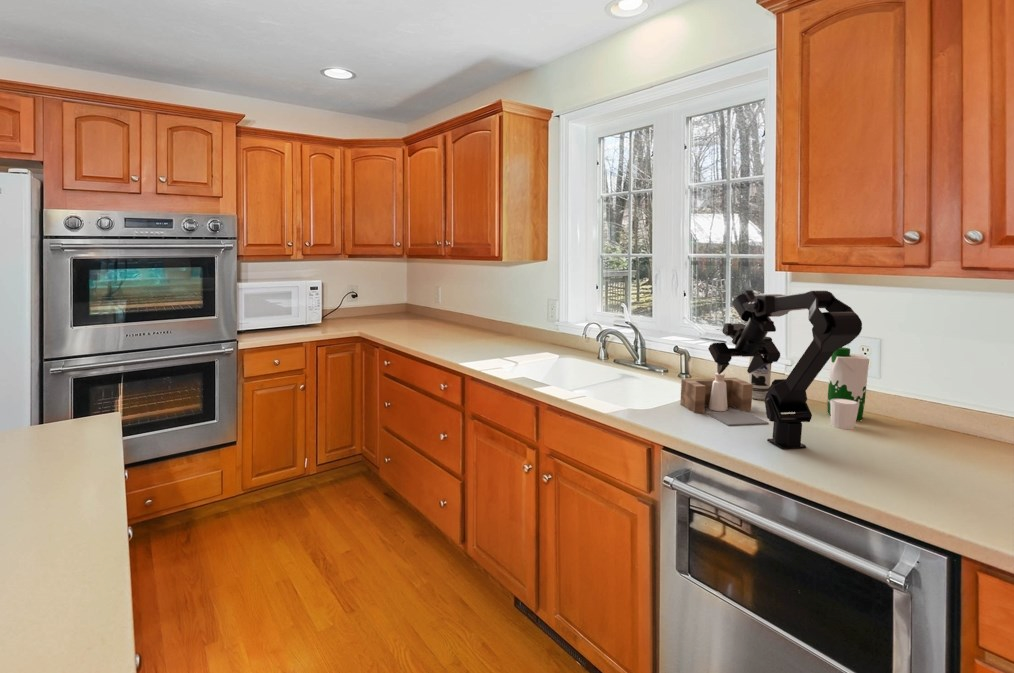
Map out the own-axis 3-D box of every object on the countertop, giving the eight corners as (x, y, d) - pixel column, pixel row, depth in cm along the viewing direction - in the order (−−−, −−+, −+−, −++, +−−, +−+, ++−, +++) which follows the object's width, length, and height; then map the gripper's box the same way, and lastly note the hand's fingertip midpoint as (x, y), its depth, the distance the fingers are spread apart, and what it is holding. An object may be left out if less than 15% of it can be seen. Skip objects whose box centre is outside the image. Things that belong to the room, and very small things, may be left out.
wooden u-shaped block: (751, 410, 171) (752, 384, 170) (694, 412, 168) (696, 386, 167) (734, 402, 180) (735, 377, 179) (680, 404, 177) (681, 379, 176)
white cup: (849, 422, 159) (851, 398, 158) (862, 430, 152) (864, 404, 151) (823, 422, 159) (825, 397, 158) (835, 429, 152) (837, 404, 151)
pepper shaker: (731, 410, 171) (733, 374, 169) (716, 412, 169) (718, 375, 168) (719, 406, 176) (721, 371, 174) (704, 407, 174) (706, 372, 173)
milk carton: (823, 411, 170) (828, 345, 167) (857, 414, 167) (863, 346, 164) (831, 419, 161) (837, 350, 159) (867, 422, 159) (874, 351, 156)
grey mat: (768, 424, 157) (768, 422, 157) (728, 425, 155) (728, 424, 155) (744, 412, 169) (744, 410, 169) (706, 413, 167) (706, 412, 167)
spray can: (748, 399, 184) (752, 338, 181) (745, 394, 190) (749, 335, 187) (770, 401, 182) (774, 339, 179) (767, 396, 188) (771, 336, 185)
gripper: (772, 312, 160) (751, 352, 171) (710, 313, 157) (693, 353, 168) (791, 340, 152) (768, 379, 163) (726, 341, 149) (707, 381, 160)
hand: (733, 372), depth 163 cm, fingers open, 9 cm apart
